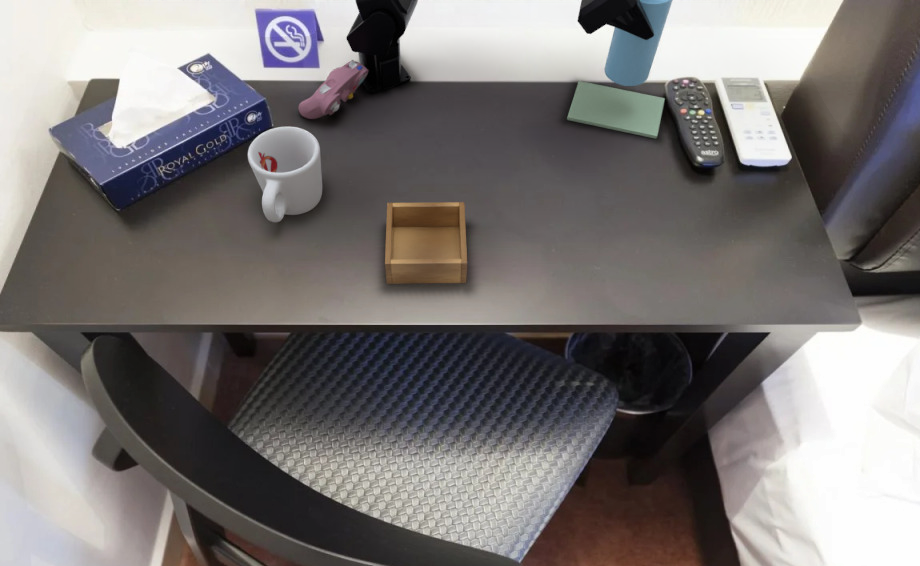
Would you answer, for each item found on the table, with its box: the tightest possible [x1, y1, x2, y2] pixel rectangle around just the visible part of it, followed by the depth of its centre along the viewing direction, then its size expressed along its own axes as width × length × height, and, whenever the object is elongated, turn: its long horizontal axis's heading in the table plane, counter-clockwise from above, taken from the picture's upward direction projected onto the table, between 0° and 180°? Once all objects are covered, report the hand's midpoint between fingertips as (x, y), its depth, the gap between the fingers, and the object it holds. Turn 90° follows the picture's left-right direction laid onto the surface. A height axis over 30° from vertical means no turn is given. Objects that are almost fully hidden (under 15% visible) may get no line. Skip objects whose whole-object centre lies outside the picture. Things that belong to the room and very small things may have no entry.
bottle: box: [604, 0, 673, 87], centre depth 79 cm, size 6×6×14 cm
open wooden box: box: [384, 201, 468, 285], centre depth 74 cm, size 9×9×4 cm
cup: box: [247, 125, 323, 223], centre depth 77 cm, size 11×8×8 cm
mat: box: [566, 80, 666, 140], centre depth 90 cm, size 12×8×1 cm, turn 73°
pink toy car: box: [298, 59, 369, 120], centre depth 88 cm, size 10×5×7 cm, turn 148°
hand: (652, 22), depth 79 cm, fingers closed on bottle, 5 cm apart
